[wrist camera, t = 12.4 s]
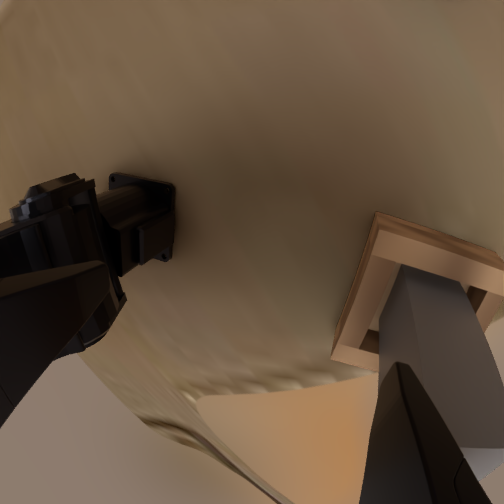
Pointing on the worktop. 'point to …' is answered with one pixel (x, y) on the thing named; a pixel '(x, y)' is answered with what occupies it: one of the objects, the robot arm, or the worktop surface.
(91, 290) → the robot arm
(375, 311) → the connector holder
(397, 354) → the plain gray rectangular block
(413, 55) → the worktop surface
